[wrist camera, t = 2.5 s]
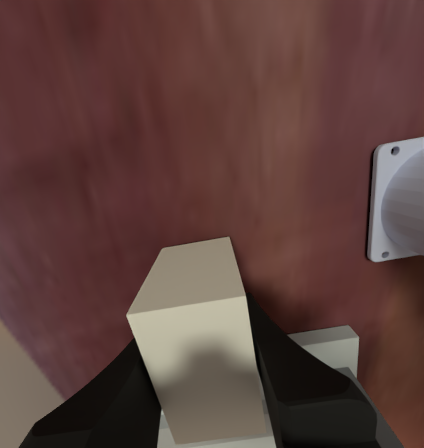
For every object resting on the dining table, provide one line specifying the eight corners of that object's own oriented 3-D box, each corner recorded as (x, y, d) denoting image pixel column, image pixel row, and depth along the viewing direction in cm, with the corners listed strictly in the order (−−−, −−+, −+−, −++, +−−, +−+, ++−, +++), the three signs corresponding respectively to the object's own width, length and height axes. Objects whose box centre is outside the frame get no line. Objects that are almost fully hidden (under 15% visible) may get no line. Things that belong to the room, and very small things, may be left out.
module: (229, 236, 13) (246, 295, 7) (246, 339, 15) (267, 442, 10) (162, 248, 13) (126, 315, 7) (190, 347, 16) (179, 454, 10)
